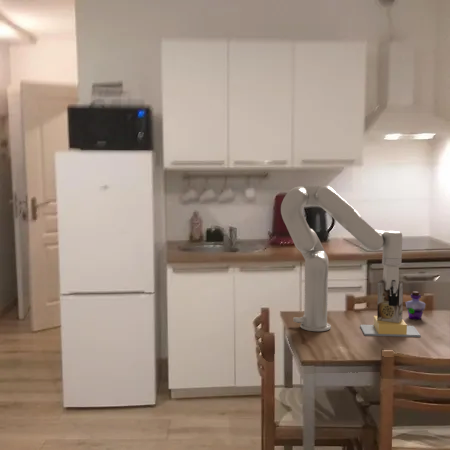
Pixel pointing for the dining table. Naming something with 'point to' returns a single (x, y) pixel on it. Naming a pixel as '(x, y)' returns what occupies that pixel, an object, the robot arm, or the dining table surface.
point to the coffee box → (383, 308)
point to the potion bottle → (415, 306)
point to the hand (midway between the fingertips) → (390, 302)
